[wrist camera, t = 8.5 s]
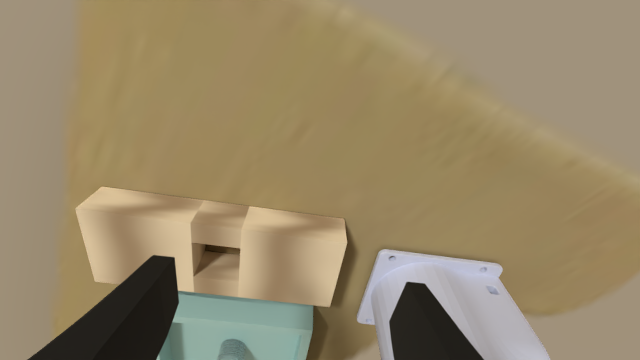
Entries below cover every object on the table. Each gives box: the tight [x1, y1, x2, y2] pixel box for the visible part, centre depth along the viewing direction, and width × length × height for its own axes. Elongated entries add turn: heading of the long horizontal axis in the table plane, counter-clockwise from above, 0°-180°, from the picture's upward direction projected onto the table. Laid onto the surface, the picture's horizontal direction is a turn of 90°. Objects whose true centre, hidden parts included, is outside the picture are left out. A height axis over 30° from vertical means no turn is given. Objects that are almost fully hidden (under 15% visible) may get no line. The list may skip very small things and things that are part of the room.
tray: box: [156, 291, 313, 360], centre depth 27 cm, size 12×12×2 cm
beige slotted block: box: [75, 187, 347, 307], centre depth 21 cm, size 16×6×2 cm, turn 81°
